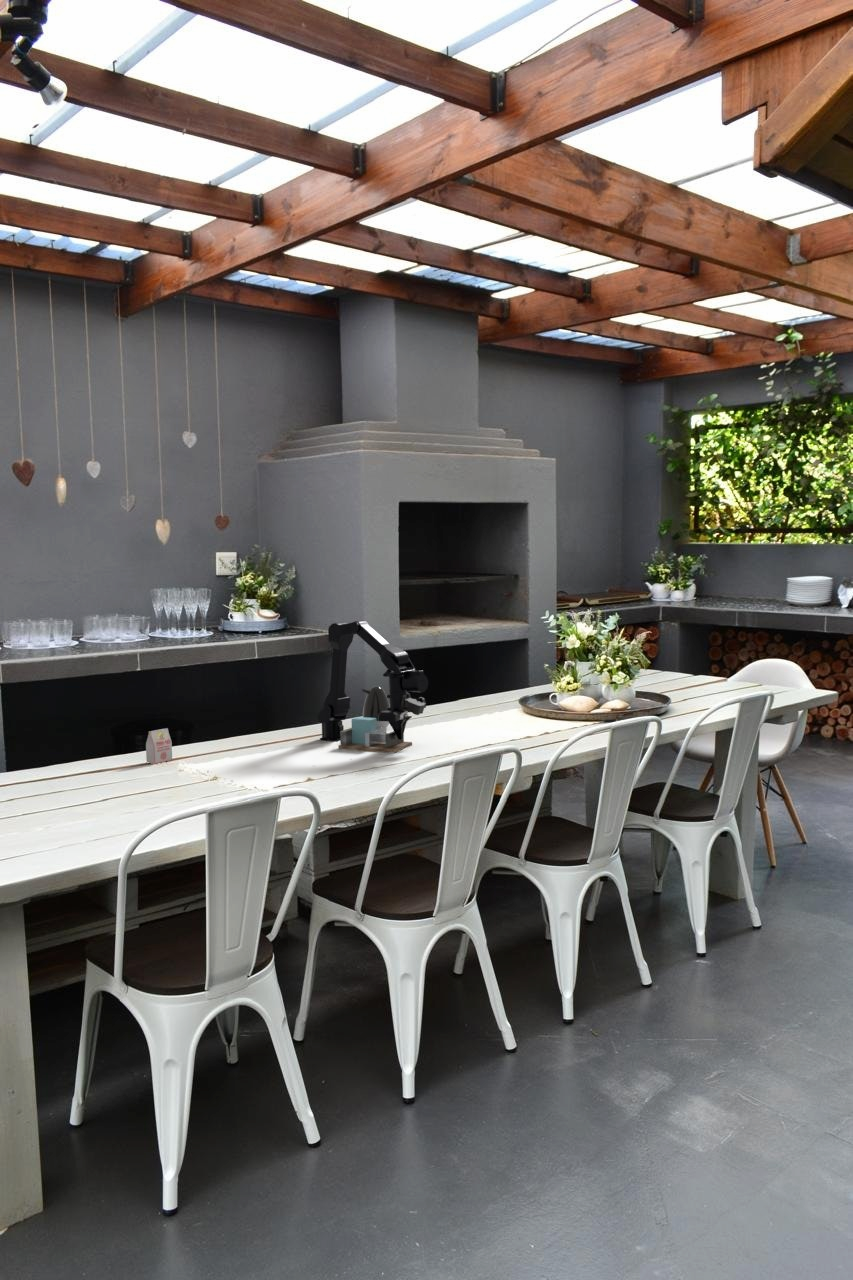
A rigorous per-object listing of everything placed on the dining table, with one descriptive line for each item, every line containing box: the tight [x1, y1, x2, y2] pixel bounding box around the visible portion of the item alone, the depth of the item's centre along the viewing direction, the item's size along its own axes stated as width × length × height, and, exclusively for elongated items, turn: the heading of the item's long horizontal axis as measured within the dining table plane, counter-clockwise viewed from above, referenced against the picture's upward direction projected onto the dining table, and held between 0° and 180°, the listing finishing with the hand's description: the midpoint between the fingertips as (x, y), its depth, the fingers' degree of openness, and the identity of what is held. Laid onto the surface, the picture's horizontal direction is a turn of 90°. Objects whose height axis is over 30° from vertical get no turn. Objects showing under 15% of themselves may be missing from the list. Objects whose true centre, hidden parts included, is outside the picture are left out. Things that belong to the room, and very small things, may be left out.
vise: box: [338, 727, 413, 753], centre depth 327 cm, size 20×13×6 cm, turn 65°
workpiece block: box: [351, 716, 377, 744], centre depth 328 cm, size 7×4×8 cm, turn 65°
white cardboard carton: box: [145, 727, 173, 765], centre depth 309 cm, size 4×7×10 cm, turn 142°
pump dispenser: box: [360, 685, 390, 729], centre depth 360 cm, size 10×10×15 cm
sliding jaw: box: [365, 727, 405, 748], centre depth 325 cm, size 8×12×4 cm, turn 155°
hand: (400, 739), depth 323 cm, fingers closed, pressing on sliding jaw
